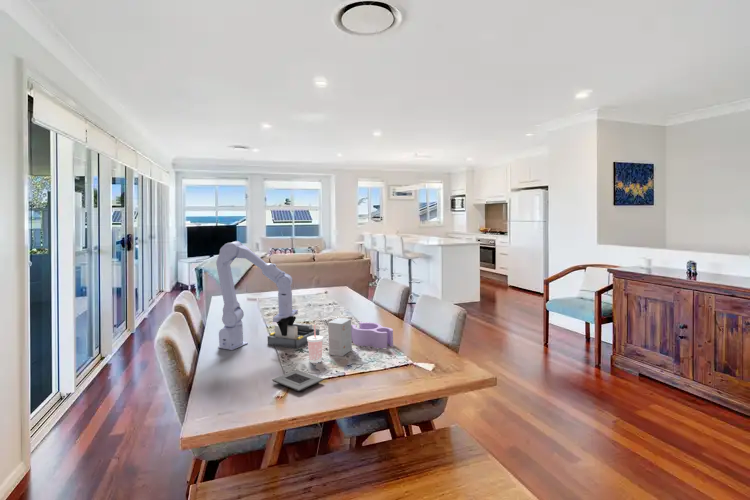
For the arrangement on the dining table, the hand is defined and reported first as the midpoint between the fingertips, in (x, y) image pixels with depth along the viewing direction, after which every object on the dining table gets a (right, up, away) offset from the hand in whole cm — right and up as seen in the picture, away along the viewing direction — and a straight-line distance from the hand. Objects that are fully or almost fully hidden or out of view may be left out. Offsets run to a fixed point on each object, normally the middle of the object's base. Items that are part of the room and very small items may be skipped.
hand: (286, 334), depth 174 cm
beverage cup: (+15, -6, -19) cm, 25 cm away
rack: (+2, -4, +5) cm, 7 cm away
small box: (+24, -5, -10) cm, 26 cm away
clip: (+36, -4, +1) cm, 37 cm away
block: (0, -3, 0) cm, 3 cm away
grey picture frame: (+12, -9, -40) cm, 43 cm away
